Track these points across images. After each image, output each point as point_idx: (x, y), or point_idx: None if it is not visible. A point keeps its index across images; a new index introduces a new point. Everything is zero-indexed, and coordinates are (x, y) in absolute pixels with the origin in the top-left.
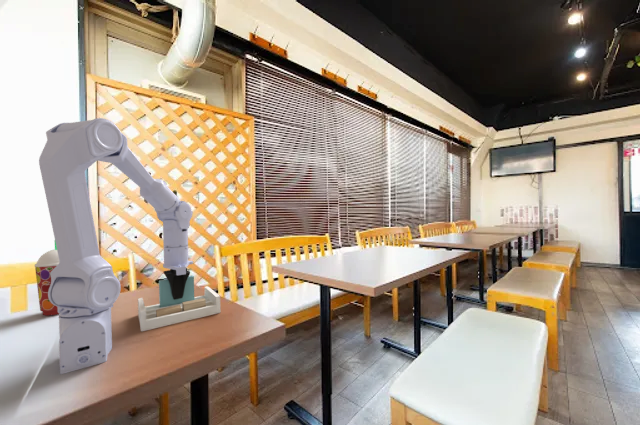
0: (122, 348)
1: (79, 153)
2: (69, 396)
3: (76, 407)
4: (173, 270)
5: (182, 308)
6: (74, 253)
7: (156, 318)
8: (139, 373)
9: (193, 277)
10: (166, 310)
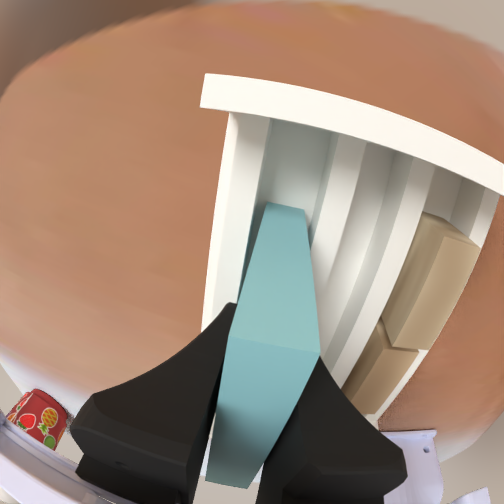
0: (395, 422)
1: None
2: (452, 446)
3: (477, 437)
4: (179, 502)
5: (386, 324)
6: None
7: (388, 403)
8: (496, 401)
9: (317, 345)
10: (389, 393)
